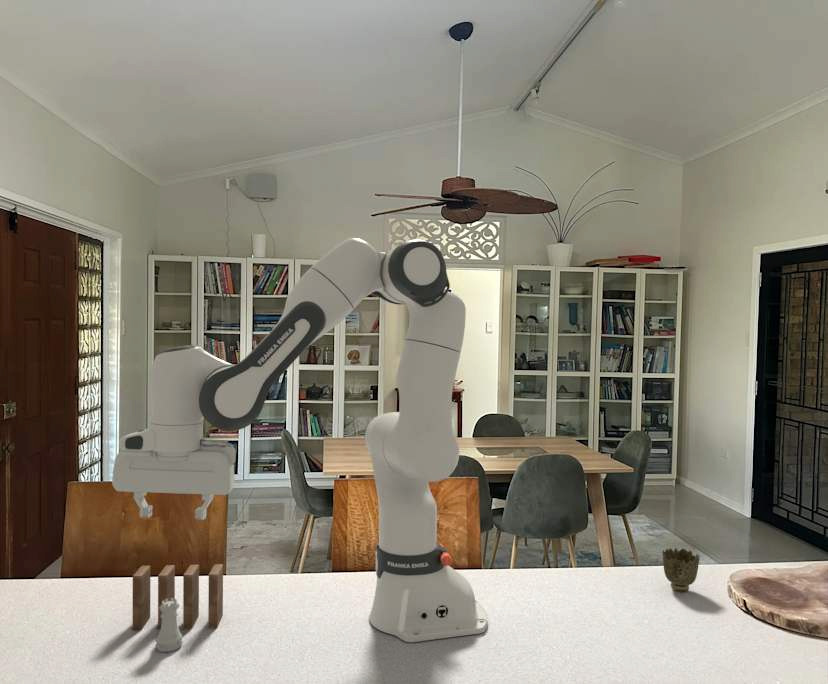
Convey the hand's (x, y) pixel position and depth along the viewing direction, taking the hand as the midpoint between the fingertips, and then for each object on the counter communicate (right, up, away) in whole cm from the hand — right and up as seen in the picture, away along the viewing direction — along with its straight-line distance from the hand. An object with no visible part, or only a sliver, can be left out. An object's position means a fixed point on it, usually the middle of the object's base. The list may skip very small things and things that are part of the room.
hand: (173, 517), depth 112 cm
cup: (+99, -23, +27) cm, 105 cm away
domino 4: (+5, -22, +9) cm, 24 cm away
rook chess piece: (-1, -23, 0) cm, 23 cm away
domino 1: (-9, -22, +8) cm, 25 cm away
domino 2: (-4, -22, +8) cm, 24 cm away
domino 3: (0, -22, +9) cm, 24 cm away
